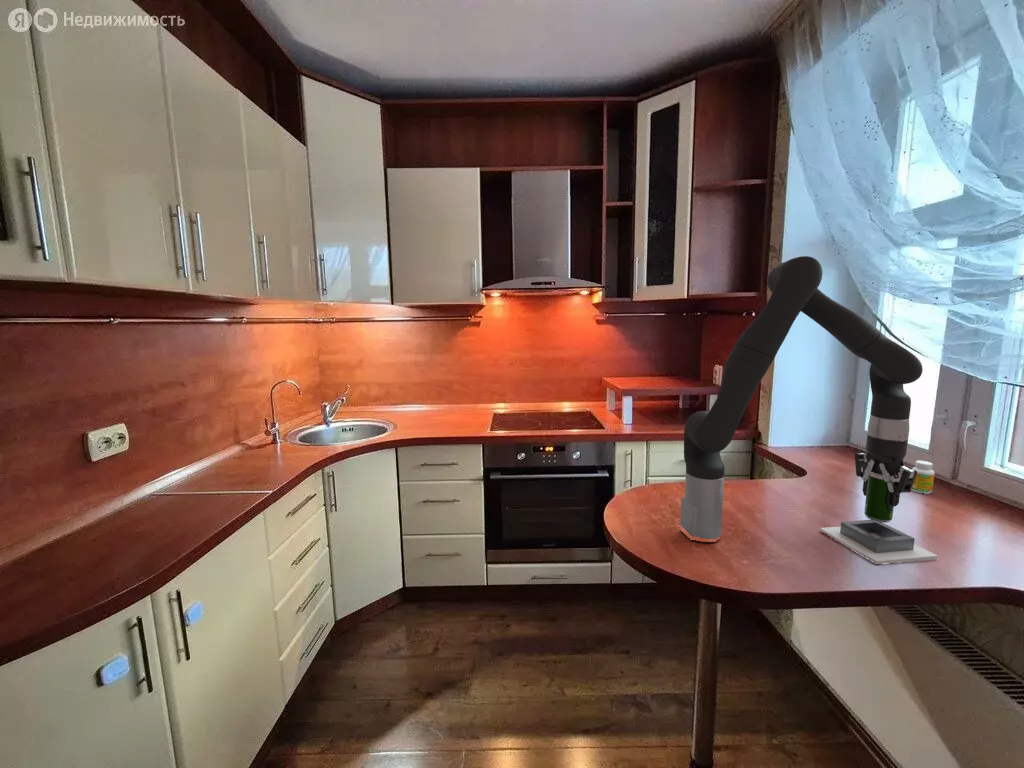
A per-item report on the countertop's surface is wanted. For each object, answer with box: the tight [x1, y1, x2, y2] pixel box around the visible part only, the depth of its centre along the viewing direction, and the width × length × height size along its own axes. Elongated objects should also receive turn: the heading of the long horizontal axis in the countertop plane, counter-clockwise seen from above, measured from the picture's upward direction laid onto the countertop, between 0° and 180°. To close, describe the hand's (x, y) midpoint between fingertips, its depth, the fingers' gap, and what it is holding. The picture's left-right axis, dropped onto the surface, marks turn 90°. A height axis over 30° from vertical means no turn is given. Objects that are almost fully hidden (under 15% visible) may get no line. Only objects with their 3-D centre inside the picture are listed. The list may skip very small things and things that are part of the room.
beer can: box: [863, 471, 896, 524], centre depth 106 cm, size 5×5×12 cm
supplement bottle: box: [911, 460, 935, 495], centre depth 139 cm, size 5×5×10 cm
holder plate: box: [819, 525, 939, 564], centre depth 108 cm, size 16×16×1 cm
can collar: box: [840, 519, 915, 553], centre depth 108 cm, size 10×10×3 cm
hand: (879, 500), depth 106 cm, fingers closed on beer can, 5 cm apart
